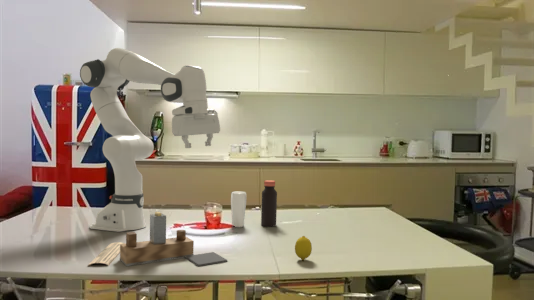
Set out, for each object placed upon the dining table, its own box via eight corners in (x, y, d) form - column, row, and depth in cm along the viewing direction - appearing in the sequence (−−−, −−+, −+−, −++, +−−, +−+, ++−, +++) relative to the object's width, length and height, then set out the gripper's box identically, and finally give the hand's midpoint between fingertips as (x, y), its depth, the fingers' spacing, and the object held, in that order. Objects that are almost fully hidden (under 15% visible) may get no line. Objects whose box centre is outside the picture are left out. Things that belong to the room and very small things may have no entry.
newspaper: (108, 268, 128) (108, 262, 128) (84, 268, 128) (84, 262, 128) (126, 247, 152) (126, 242, 152) (106, 247, 151) (106, 242, 151)
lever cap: (153, 244, 135) (154, 214, 134) (149, 241, 138) (150, 212, 138) (165, 243, 137) (166, 213, 136) (161, 240, 140) (162, 211, 140)
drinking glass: (233, 228, 182) (234, 193, 181) (227, 225, 188) (228, 191, 187) (248, 227, 185) (249, 193, 184) (241, 224, 191) (242, 191, 190)
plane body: (126, 266, 129) (126, 236, 128) (119, 259, 135) (120, 231, 134) (193, 256, 141) (194, 229, 140) (184, 250, 147) (185, 224, 146)
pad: (198, 266, 130) (198, 264, 130) (185, 258, 138) (185, 256, 138) (227, 261, 135) (227, 259, 135) (213, 253, 144) (213, 252, 144)
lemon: (293, 257, 142) (294, 234, 141) (309, 257, 142) (310, 234, 142) (295, 262, 136) (296, 238, 136) (312, 262, 137) (313, 238, 136)
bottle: (267, 227, 185) (269, 182, 184) (257, 224, 190) (259, 180, 189) (279, 225, 189) (280, 181, 189) (269, 223, 195) (270, 179, 194)
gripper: (211, 109, 166) (213, 145, 167) (167, 110, 151) (170, 149, 151) (222, 108, 162) (224, 144, 162) (178, 109, 146) (181, 149, 147)
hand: (198, 147), depth 157 cm, fingers open, 8 cm apart
